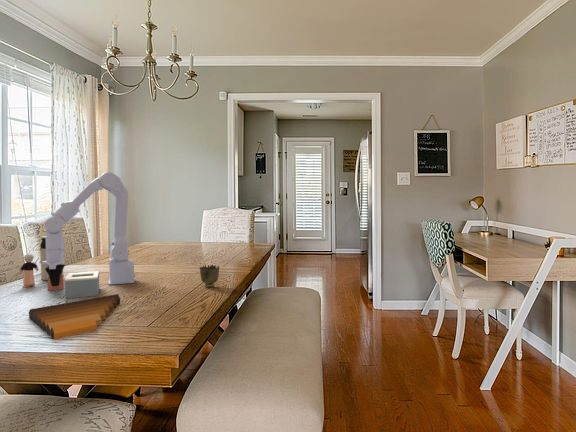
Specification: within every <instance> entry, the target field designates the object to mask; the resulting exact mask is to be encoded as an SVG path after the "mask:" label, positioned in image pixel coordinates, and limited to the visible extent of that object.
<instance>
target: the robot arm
mask: <svg viewBox="0 0 576 432" xmlns="http://www.w3.org/2000/svg"><path fill="white" fill-rule="evenodd" d="M104 189H105V190H106V191H108V192H109V193H110V194H111V195H112V196H114V211H113V212H114V213H113V214H114V215H113V232H112V239H111V244H110V246H109V249H108V252H109V255H110V258H109V260H108V262H109V263H108V265H109V266H108V267H109V272H108V273H109V279H108V285H109V286H110V285H120V284H121V285H122V284H134V283H135V278H136V273H135V264H134V263H135V262H134V261H135V260H134V259H129V254H130V253H129V252H130V251H129V248H128V245H127V244H128V242H127V225H128V224H127V221H128V220H127V219H128V203H129V192H128V189H127V188H126V187H125V185H124V184H123V181H122V179H121V178H120V177H119V176H117V174H115V173H113V172H111V171H108V172H107V171H106V172H104V173H102V174H100V175H99V176H98V177H96V178H94V180H91V182H89V183H88V184H87V185H86V187H84V188H83V189H82V191H80V192H79V194H78V195H76V196H75V198H74V199H73V200H66V201H65V202H62V203H61V204H60V207H59V208H58V209H57V210H56V211H55V212H52V213H51V214H50V216H51V217H48V219H46V220H45V223H44V227H45V229H46V231H45V236H46V261H43V264H45V263H46V264H48V265H49V266H48V267H46V268H45V270H46V272H47V273H48V275H49V278H50V281H51V285H52V286H58V285H59V281H60V275H62V271H63V272H64V268H65V266H66V265H65V258H64V257H65V254H64V236H63V229H64V225H65V224H68V223H69V222H70V221H71V220H72V219H73V218H75V216H76V215H77V214H78V213H79V212H80V206H81V205H82V204H83V203H85V202H86V201H87V199H89V198H90V197H91V196H92V195H93V194H95V193H96V192H98V191H102V190H104ZM61 263H63V264H61ZM59 264H60V265H59Z"/></svg>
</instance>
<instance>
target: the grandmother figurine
mask: <svg viewBox="0 0 576 432" xmlns="http://www.w3.org/2000/svg"><path fill="white" fill-rule="evenodd" d="M34 258H35V256H34V254H32V253H26V254H25V255H24V256H23V260H24V261H25V263H23V264H22V265H21V267H20V268H19V271H18V275H22V273H23V278H22V284H23V285H22V288H29V287H36V284H35V283H36V282H35V275H34V271H36V272H38V271H40V270H39V267H38V265H37V264H36V262H33V260H34ZM34 269H35V270H34ZM23 271H24V272H23Z"/></svg>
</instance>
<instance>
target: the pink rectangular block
mask: <svg viewBox="0 0 576 432" xmlns="http://www.w3.org/2000/svg"><path fill="white" fill-rule="evenodd" d="M47 280H48V281H47ZM47 280H46V281H47V291H54V290H64V289H65V275H64V274H63V275H60V281H59V285H58V286H52V285H51V281H50V278H49V276H48V277H47Z"/></svg>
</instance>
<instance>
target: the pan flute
mask: <svg viewBox="0 0 576 432" xmlns="http://www.w3.org/2000/svg"><path fill="white" fill-rule="evenodd" d="M117 304H118V305H119V304H121V297H120V295H119V294H118V293H116V294H111V295H104V296H100V297H94V298H87V299H81V300H76V301H70V302H65V303H59V304H53V305H47V306H42V307H36V308H30V309H29V310H28V318H29V319H30V321H32V322H33V323H34V324H35V325H36V326H38V327H39V328H40V329H41V330H42V331H44V332H45V333H46V334H47V335H48V336H50V337H51V339H53V340H57V339H62V338H66V337H67V338H68V337H71V336H75V335H80V334H84V333H89V332H93V331H97V326H100V325H102V321H105V320H106V318H107V315H108V316H110V311H111V312H114V308H117V306H118V305H117Z"/></svg>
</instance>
